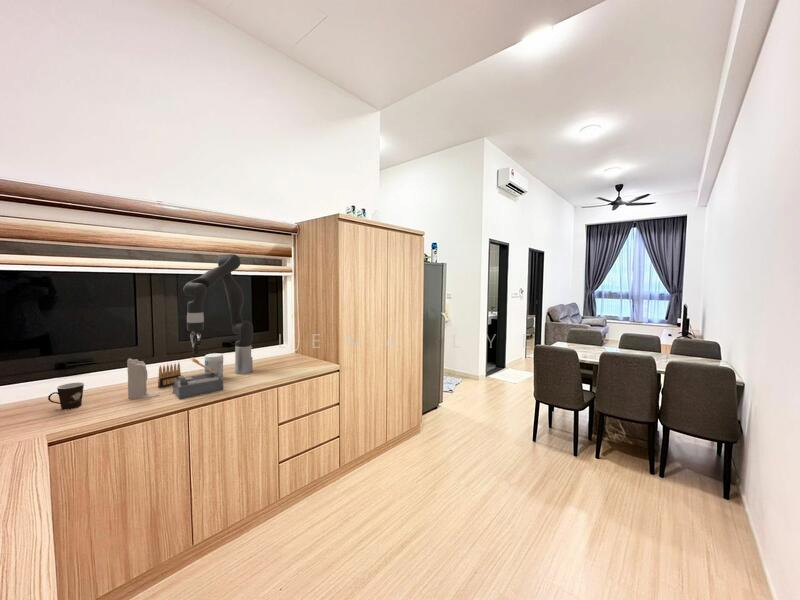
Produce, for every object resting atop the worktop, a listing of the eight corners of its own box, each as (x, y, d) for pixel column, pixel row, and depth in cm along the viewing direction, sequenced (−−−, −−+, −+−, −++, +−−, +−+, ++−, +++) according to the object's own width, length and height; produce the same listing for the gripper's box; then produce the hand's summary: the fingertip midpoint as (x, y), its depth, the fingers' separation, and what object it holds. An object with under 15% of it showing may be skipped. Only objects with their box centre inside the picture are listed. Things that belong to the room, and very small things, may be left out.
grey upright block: (161, 396, 165) (161, 357, 163) (126, 400, 158) (125, 359, 157) (163, 391, 171) (163, 354, 170) (130, 395, 164) (129, 356, 163)
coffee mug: (83, 401, 155) (82, 381, 154) (86, 406, 149) (85, 385, 148) (47, 409, 146) (46, 387, 145) (48, 414, 140) (47, 391, 139)
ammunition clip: (159, 388, 176) (158, 366, 175) (157, 387, 177) (157, 365, 176) (181, 383, 185) (181, 362, 184) (180, 382, 186) (179, 361, 185)
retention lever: (213, 373, 180) (215, 370, 180) (216, 374, 177) (218, 372, 177) (190, 359, 171) (192, 357, 172) (192, 361, 168) (194, 358, 169)
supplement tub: (201, 381, 188) (200, 356, 187) (210, 376, 197) (210, 352, 196) (217, 382, 188) (217, 357, 187) (226, 377, 198) (226, 353, 197)
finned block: (215, 383, 185) (215, 367, 184) (223, 390, 175) (223, 373, 175) (172, 391, 171) (172, 374, 170) (179, 399, 161) (178, 381, 160)
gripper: (207, 322, 168) (207, 355, 169) (200, 319, 177) (200, 350, 178) (190, 323, 163) (190, 357, 164) (183, 320, 172) (184, 352, 173)
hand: (195, 353), depth 171 cm, fingers closed
